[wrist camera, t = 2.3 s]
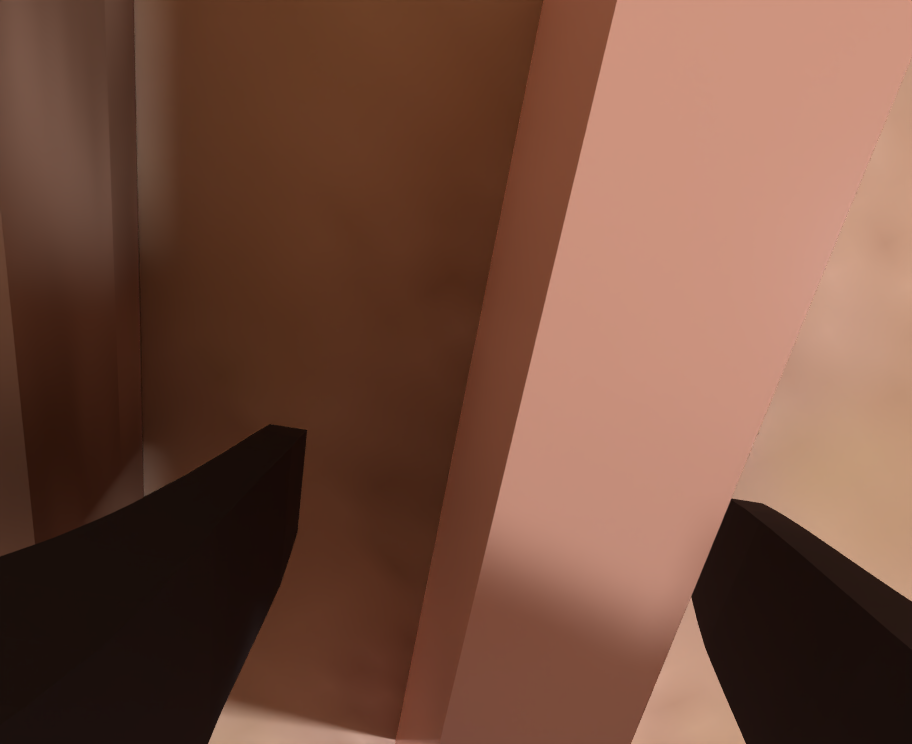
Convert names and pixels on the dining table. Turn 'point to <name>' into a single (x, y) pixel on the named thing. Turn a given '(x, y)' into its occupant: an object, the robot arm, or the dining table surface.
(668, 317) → the clay strip
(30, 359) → the slatted brown panel
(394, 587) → the dining table surface
